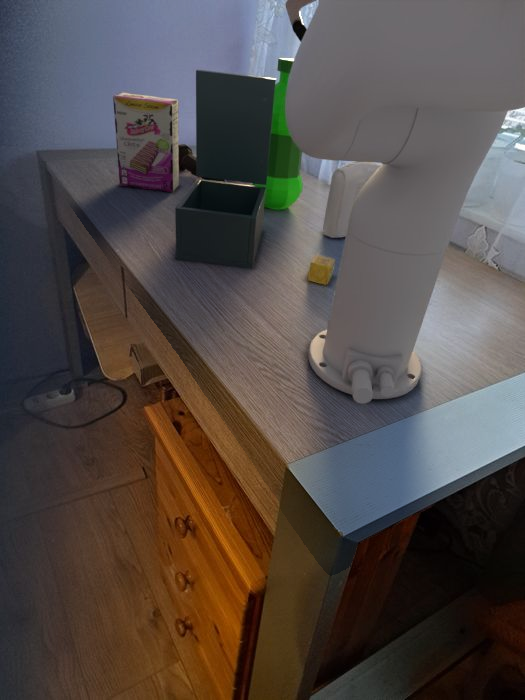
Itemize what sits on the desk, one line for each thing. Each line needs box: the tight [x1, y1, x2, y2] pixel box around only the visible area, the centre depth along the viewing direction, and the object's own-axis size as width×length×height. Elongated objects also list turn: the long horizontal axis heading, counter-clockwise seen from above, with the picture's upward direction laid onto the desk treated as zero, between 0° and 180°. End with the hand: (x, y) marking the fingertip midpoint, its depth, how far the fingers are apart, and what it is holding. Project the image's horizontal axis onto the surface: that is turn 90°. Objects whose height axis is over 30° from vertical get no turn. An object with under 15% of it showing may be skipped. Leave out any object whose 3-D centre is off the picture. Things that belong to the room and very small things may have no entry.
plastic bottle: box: [251, 57, 304, 211], centre depth 89 cm, size 10×10×25 cm
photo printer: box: [322, 161, 382, 239], centre depth 84 cm, size 10×4×12 cm, turn 124°
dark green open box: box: [174, 178, 266, 269], centre depth 76 cm, size 15×12×8 cm
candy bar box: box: [112, 92, 180, 193], centre depth 94 cm, size 11×5×16 cm, turn 84°
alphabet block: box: [307, 254, 336, 286], centre depth 71 cm, size 3×3×3 cm
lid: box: [195, 69, 277, 185], centre depth 77 cm, size 15×12×6 cm
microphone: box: [178, 143, 226, 182], centre depth 105 cm, size 6×6×20 cm
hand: (350, 94), depth 58 cm, fingers open, 9 cm apart
